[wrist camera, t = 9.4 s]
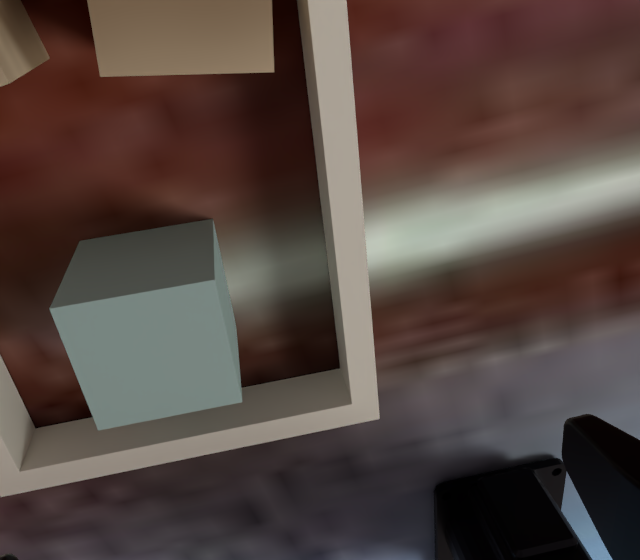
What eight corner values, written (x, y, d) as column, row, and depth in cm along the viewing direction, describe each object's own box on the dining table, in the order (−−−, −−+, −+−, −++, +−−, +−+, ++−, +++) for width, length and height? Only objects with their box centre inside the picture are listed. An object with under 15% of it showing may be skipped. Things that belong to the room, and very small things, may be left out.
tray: (366, 382, 24) (379, 418, 22) (18, 452, 23) (0, 497, 21) (308, -254, 14) (323, -288, 12) (-314, -195, 13) (-404, -223, 11)
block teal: (236, 325, 22) (242, 402, 18) (117, 347, 21) (98, 430, 18) (212, 217, 20) (215, 279, 16) (80, 240, 19) (49, 309, 15)
